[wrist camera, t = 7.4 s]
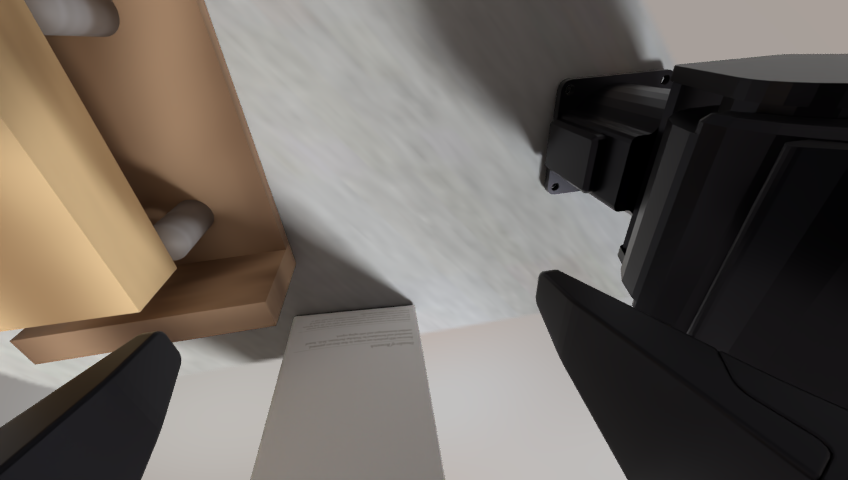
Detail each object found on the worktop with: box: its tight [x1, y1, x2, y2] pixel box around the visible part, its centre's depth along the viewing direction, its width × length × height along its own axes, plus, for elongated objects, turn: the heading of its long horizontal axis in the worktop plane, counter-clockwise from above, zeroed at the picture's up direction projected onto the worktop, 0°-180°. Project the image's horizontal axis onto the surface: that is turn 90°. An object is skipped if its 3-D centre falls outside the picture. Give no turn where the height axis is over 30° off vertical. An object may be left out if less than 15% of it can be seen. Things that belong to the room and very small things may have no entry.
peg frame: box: [10, 0, 296, 364], centre depth 13 cm, size 11×18×5 cm, turn 4°
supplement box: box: [250, 305, 445, 480], centre depth 19 cm, size 9×9×15 cm
